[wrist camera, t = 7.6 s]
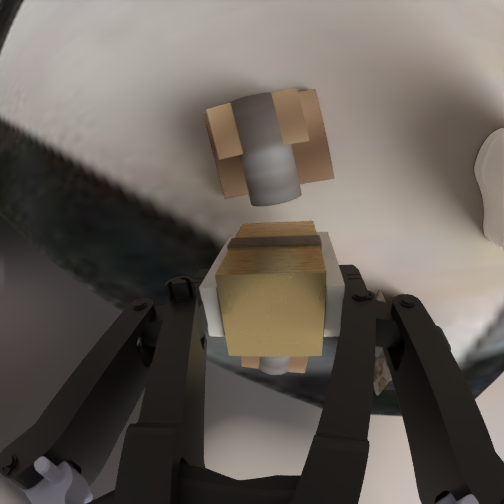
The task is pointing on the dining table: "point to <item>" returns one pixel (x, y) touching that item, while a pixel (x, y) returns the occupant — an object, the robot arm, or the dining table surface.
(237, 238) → the block
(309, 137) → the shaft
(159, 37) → the dining table surface
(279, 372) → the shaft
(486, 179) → the jar
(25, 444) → the robot arm
